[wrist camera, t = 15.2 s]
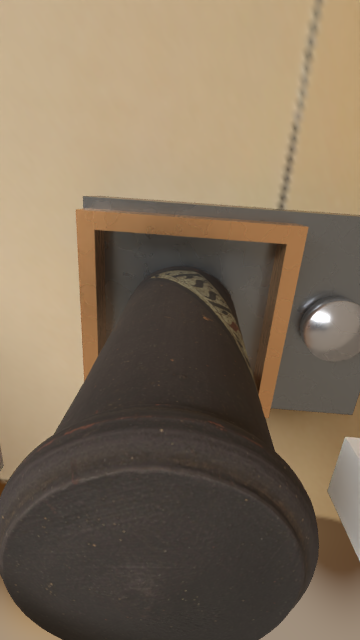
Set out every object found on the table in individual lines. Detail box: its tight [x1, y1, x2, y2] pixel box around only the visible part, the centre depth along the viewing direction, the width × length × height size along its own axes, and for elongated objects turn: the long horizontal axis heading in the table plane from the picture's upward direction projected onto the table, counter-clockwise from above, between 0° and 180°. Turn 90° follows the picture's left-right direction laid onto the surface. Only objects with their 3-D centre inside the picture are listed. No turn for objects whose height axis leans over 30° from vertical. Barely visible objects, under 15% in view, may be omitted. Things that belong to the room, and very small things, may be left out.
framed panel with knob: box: [76, 196, 360, 418], centre depth 27 cm, size 24×17×6 cm
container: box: [0, 266, 319, 640], centre depth 17 cm, size 9×9×20 cm
